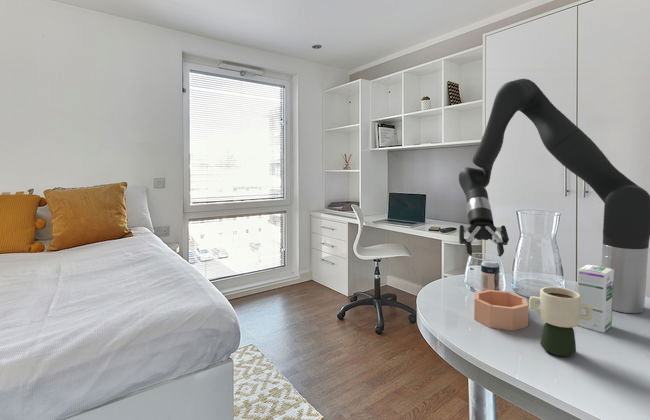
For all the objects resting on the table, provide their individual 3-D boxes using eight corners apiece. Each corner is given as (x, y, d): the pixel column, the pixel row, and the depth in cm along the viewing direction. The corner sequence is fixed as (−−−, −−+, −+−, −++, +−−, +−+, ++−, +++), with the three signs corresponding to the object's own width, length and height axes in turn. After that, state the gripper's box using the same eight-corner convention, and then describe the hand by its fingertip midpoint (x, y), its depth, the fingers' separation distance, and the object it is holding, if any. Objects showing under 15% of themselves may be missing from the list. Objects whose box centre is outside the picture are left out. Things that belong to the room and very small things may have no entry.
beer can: (500, 304, 97) (501, 264, 95) (482, 303, 98) (483, 263, 96) (495, 298, 101) (496, 259, 100) (478, 297, 102) (479, 259, 101)
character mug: (587, 349, 72) (591, 291, 71) (591, 366, 66) (595, 302, 65) (528, 337, 78) (530, 283, 77) (527, 351, 72) (529, 293, 71)
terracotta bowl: (498, 306, 96) (498, 287, 95) (537, 324, 84) (538, 302, 84) (464, 314, 91) (464, 294, 91) (501, 333, 80) (502, 311, 80)
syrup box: (604, 333, 79) (608, 273, 77) (574, 324, 83) (577, 267, 82) (611, 326, 82) (615, 268, 80) (582, 318, 87) (585, 263, 85)
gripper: (458, 206, 114) (462, 247, 104) (504, 206, 110) (513, 249, 100) (456, 219, 119) (459, 260, 110) (500, 220, 116) (508, 261, 106)
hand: (485, 254), depth 105 cm, fingers open, 8 cm apart
